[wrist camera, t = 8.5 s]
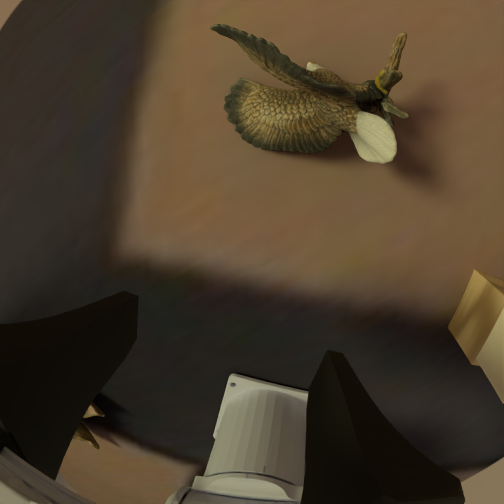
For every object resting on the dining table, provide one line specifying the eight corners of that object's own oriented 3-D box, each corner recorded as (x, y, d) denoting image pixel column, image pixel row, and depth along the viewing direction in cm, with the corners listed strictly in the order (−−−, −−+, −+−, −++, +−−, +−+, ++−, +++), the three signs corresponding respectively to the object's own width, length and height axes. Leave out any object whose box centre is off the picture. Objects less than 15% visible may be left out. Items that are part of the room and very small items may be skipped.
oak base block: (488, 336, 20) (513, 370, 16) (447, 326, 21) (471, 364, 16) (514, 283, 19) (546, 311, 14) (474, 269, 19) (507, 298, 14)
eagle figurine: (374, 17, 14) (211, 11, 14) (444, 53, 9) (199, 34, 9) (359, 125, 20) (221, 127, 20) (402, 196, 15) (219, 202, 15)
